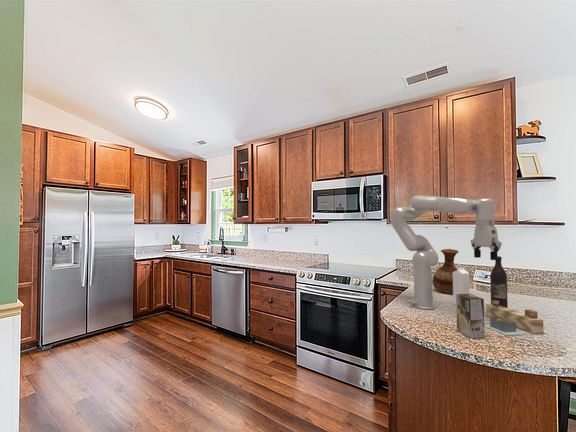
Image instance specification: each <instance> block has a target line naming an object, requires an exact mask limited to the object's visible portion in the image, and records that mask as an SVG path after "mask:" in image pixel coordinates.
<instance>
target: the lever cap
mask: <svg viewBox="0 0 576 432" xmlns="http://www.w3.org/2000/svg"><path fill="white" fill-rule="evenodd" d="M489 325H490V327H493V328H495V329H497V330H500V331H502V332H516V330H517V328H516V322H514V321H511V320H510V319H508V318H503V317H494V318H489Z"/></svg>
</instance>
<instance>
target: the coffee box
mask: <svg viewBox="0 0 576 432" xmlns="http://www.w3.org/2000/svg"><path fill="white" fill-rule="evenodd" d="M484 299H485V298H482V297H479V296H476V295H472V294H456V305H455V306H456V331H457V332H459V333H462V334H463V335H465V336H466V337H469V338H471V339H485V330H486V329H485V326H484V325H485V302H484V301H485V300H484Z"/></svg>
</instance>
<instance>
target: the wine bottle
mask: <svg viewBox="0 0 576 432" xmlns="http://www.w3.org/2000/svg"><path fill="white" fill-rule="evenodd" d="M502 258H503V257H502V256H498V255H497V260H494V261H495V262H494V266H493V268H492V269H491V272H490V278H489V279H490V280H489V281H490V304H492V300H497V301H499V306H502V307H506V308H509V304H508V303H509V302H508V275H507V272H506V270H505V269H504V267H503V265H502Z"/></svg>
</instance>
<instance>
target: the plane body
mask: <svg viewBox="0 0 576 432" xmlns="http://www.w3.org/2000/svg"><path fill="white" fill-rule="evenodd" d="M485 310H486V312H485V317H487V318H489V319H490V318H494V317H503V318H508V319H510V320H511V321H514V322H516V329H518V330H520V331H524V332H527V333H528V334H531V335H544V334H545V331H544V319H542V318H538V317H539V316H538V315H539V314H538V311H536V310H533V309H524V313H523V312H521V311H517V310H514V309H511V308H509V307H508V308H506V307H502V306H499V301H497V300H492V304H491V303H486V304H485Z"/></svg>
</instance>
